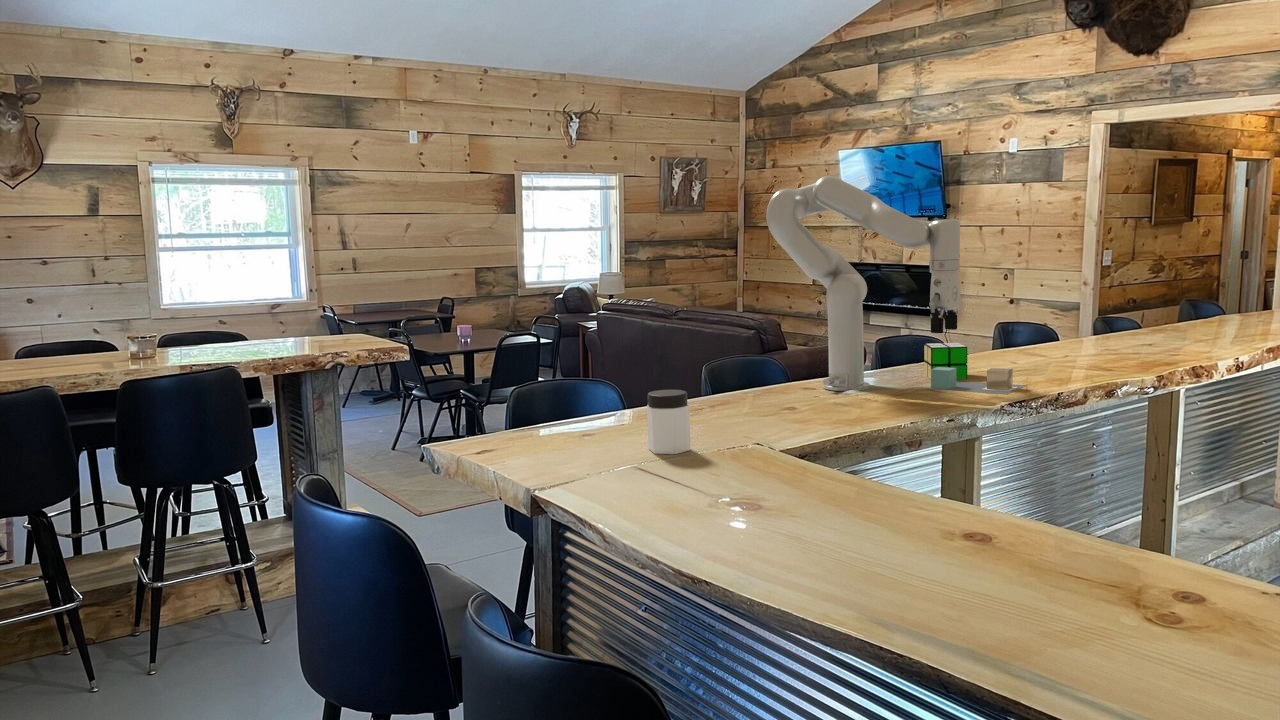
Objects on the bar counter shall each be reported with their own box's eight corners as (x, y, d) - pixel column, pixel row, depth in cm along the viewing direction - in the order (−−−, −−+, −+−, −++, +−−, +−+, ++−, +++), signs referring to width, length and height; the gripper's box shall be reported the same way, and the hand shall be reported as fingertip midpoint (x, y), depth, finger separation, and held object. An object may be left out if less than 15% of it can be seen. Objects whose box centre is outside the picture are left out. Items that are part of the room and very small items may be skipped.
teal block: (949, 389, 245) (949, 370, 244) (930, 387, 248) (930, 369, 247) (956, 386, 249) (956, 368, 248) (938, 385, 252) (938, 367, 251)
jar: (670, 443, 197) (668, 387, 195) (698, 448, 191) (696, 391, 189) (640, 451, 191) (637, 393, 189) (667, 456, 185) (665, 397, 183)
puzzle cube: (959, 376, 271) (959, 342, 269) (967, 381, 261) (967, 346, 259) (923, 377, 272) (923, 343, 270) (931, 382, 262) (931, 347, 260)
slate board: (1007, 397, 234) (1007, 394, 234) (926, 391, 247) (926, 388, 247) (1027, 388, 246) (1027, 384, 246) (949, 382, 259) (949, 379, 259)
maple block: (1006, 390, 239) (1006, 371, 239) (986, 388, 242) (986, 370, 242) (1012, 387, 243) (1012, 368, 242) (993, 386, 246) (993, 367, 246)
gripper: (946, 268, 235) (945, 335, 237) (970, 265, 248) (969, 328, 250) (917, 268, 240) (917, 334, 242) (943, 265, 253) (942, 327, 255)
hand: (944, 331), depth 246 cm, fingers open, 9 cm apart
